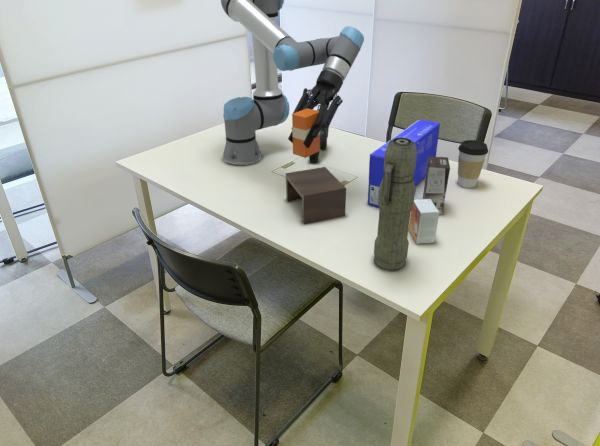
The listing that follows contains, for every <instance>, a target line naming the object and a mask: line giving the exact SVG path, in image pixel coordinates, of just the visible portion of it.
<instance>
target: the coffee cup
mask: <svg viewBox="0 0 600 446" xmlns="http://www.w3.org/2000/svg"><path fill="white" fill-rule="evenodd" d="M457 149H458V157H457V158H458V160H457V161H458V162H457V185H458V186H459V187H461V188H465V189H473V188H475V187H477V183H478V180H479V178H480V175H481V173H482V169H483V167H484V163H485V161H486V156H487V154H488V153H489V148H488V145H487V143H485V142H484V141H481V140H475V139H467V140H463V141H461V142H460V144H459V146H458V148H457Z"/></svg>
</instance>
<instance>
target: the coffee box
mask: <svg viewBox="0 0 600 446" xmlns="http://www.w3.org/2000/svg"><path fill="white" fill-rule="evenodd" d="M450 171H451V165H450V160H449V157H447V156H436V157H429V156H428V162H427V169H426V177H425V178H424V186H423V193H422V199H431V200H432V202H433V204H434V205H435V207H436V208H437V210H438V211H439V212H440V213H439V215H443V213H444V212H443V211H444V205H445V200H446V194H447V188H448V182H449V178H450Z"/></svg>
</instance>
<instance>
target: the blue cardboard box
mask: <svg viewBox="0 0 600 446" xmlns="http://www.w3.org/2000/svg"><path fill="white" fill-rule="evenodd" d="M440 127H441V123H440V122H437V121H431V120H425V119H418V120H416V121H415V122H414V123H412V124H411V125H409V126H407V127H406V128H405V129H404V130H402V131H401V132H400V133H398V134H397V135H395V136H394V137H392V138H391V139H390V140H392V139H395V138H408V139H410V140H412V141H414V143H415V146H416V150H417V159H416V167H415V174H414V184H415V187H416V186H417V185H418V184H419V183H420V182H421V181H422V180H425V177H426V169H427V162H428V156H429V157H437V151H438V143H439V134H440ZM390 140H388V141H386V142H385V143H384V144H382V145H381V146H379V148H377V149H375V150H374V151H373V152H371V153H370V154H369V161H368V162H369V163H368V189H367V205H368V206H372V207H376V208H378V209H380V208H379V205H378V199H379V187H380V184H381V182H382V180H383V174H384V158H385V151H386V148H387V146H388V144H389V142H390Z"/></svg>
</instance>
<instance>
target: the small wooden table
mask: <svg viewBox="0 0 600 446" xmlns="http://www.w3.org/2000/svg"><path fill="white" fill-rule="evenodd" d="M285 199H286V202H287V203H290V202H295V201H300V200H301V206H302V207H301V221H302V224H303V225H308V224H312V223H317V222H322V221H323V222H324V221H327V220H332V219H338V218H342V217H346V201H347V187H346V186H345V185H344V184H343V183H342V182H341V181H340V180H339V179H338V178H337V177H335V175H334V174H333V173H332V172H331V171H330V170H329V169H328V168H327V167H326V166H321V167H316V168H308V169H303V170H298V171H291V172H290V171H289V172H285Z"/></svg>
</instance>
